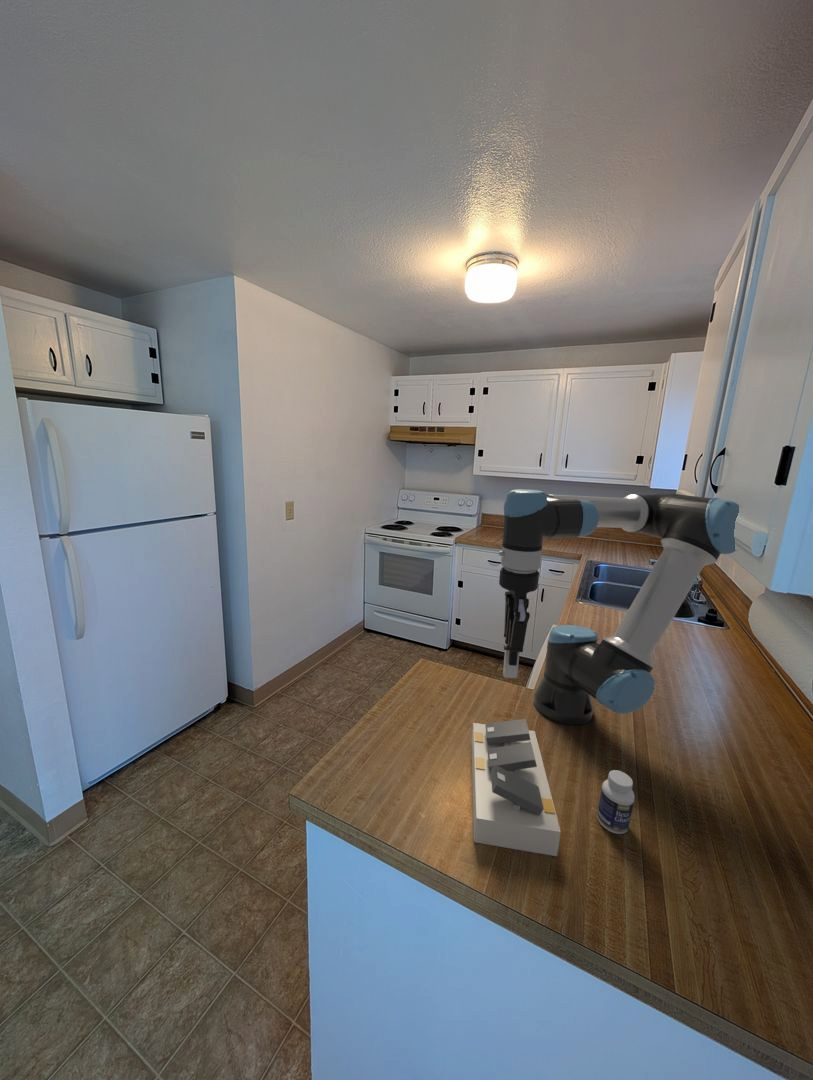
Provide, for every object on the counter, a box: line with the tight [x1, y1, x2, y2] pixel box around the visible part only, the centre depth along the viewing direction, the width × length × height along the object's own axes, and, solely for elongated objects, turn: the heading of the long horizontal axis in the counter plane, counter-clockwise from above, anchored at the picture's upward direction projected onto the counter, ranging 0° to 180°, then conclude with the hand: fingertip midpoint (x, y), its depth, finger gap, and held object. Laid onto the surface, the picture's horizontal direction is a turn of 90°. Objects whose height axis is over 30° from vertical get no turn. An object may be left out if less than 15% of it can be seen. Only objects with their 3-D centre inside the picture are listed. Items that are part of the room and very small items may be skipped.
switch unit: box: [470, 722, 562, 857], centre depth 82 cm, size 14×26×6 cm, turn 172°
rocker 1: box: [484, 718, 530, 745], centre depth 89 cm, size 9×5×2 cm, turn 82°
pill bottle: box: [596, 769, 636, 835], centre depth 76 cm, size 5×5×10 cm
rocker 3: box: [491, 764, 544, 815], centre depth 74 cm, size 9×5×2 cm, turn 82°
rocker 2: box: [487, 742, 537, 773], centre depth 81 cm, size 9×5×2 cm, turn 82°
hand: (509, 675), depth 86 cm, fingers closed
